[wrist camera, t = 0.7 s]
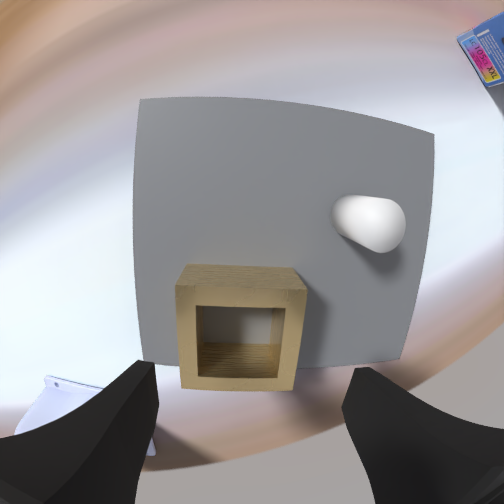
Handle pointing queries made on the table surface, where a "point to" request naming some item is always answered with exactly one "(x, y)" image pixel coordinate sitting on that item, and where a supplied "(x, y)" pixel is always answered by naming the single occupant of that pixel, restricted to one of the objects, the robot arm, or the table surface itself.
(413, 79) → the table surface
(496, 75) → the ink cartridge box
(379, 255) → the board
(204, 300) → the wooden collar
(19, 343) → the table surface
